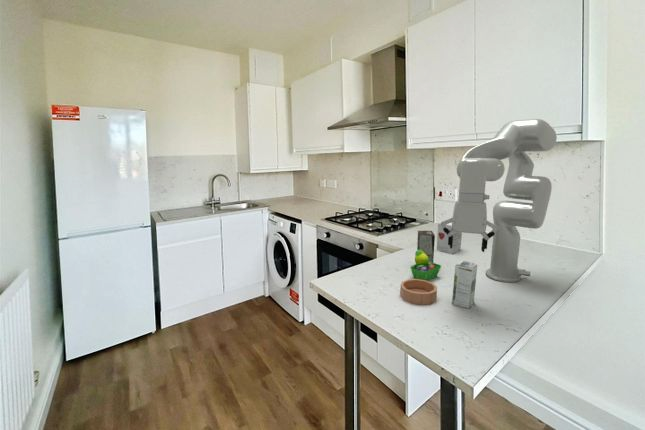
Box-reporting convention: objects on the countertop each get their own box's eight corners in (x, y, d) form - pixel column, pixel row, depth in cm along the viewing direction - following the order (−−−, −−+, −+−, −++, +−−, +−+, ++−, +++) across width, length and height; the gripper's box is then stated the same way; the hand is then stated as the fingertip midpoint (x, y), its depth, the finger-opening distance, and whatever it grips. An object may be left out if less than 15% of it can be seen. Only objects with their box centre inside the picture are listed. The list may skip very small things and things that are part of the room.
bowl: (437, 292, 118) (438, 282, 118) (434, 307, 107) (435, 296, 107) (403, 286, 123) (404, 277, 123) (397, 300, 112) (398, 290, 111)
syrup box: (456, 298, 113) (459, 259, 111) (474, 302, 110) (477, 263, 107) (451, 304, 109) (454, 264, 106) (469, 309, 105) (473, 268, 103)
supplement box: (435, 250, 167) (437, 222, 164) (445, 246, 172) (447, 219, 169) (451, 254, 160) (453, 225, 157) (461, 250, 165) (463, 222, 162)
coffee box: (433, 271, 139) (435, 235, 135) (418, 270, 140) (419, 235, 137) (430, 263, 147) (432, 230, 144) (416, 263, 149) (417, 229, 145)
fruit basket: (424, 284, 126) (425, 257, 123) (406, 277, 133) (407, 251, 130) (441, 277, 132) (442, 251, 130) (423, 270, 139) (424, 246, 137)
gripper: (500, 197, 102) (495, 249, 105) (443, 195, 109) (439, 243, 112) (503, 201, 95) (497, 255, 98) (441, 198, 102) (438, 249, 105)
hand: (466, 249), depth 105 cm, fingers open, 9 cm apart
